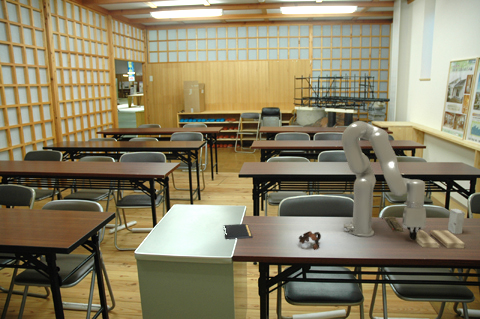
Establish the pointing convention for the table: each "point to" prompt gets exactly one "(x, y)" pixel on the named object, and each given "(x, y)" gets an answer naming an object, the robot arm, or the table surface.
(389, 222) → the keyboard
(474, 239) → the table surface
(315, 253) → the table surface
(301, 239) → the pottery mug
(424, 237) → the plank
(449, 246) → the laid board
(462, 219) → the skincare box
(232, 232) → the wallet
